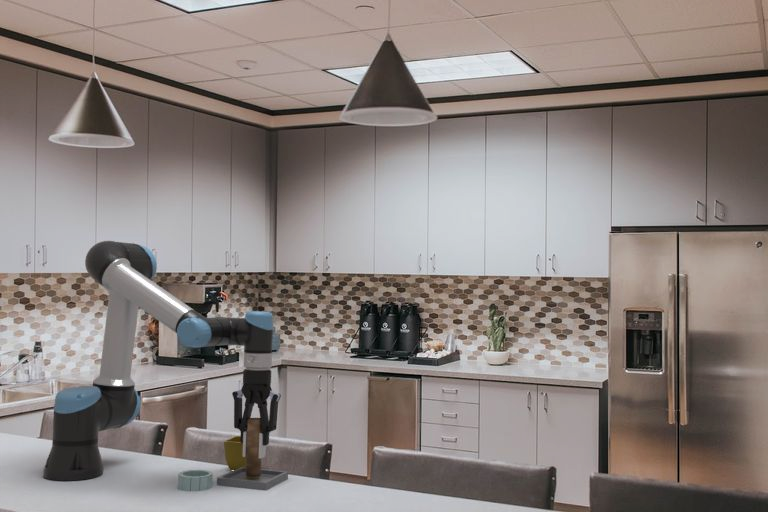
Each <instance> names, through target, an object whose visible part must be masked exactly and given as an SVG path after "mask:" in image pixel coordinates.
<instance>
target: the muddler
mask: <svg viewBox="0 0 768 512" xmlns="http://www.w3.org/2000/svg"><path fill="white" fill-rule="evenodd" d="M261 432H262V427H261V419H260V417H251V418H248V428H247V453H246V476H247V477H259V476H261V469H262V458H258V457H259V433H261Z"/></svg>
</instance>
